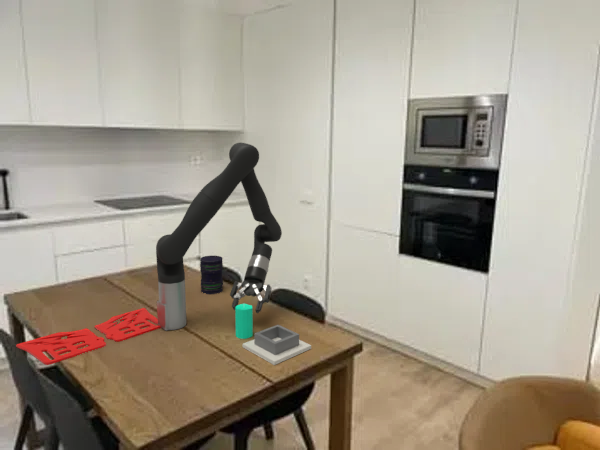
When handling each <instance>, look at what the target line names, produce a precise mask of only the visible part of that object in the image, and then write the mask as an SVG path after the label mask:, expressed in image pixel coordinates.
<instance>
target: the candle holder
mask: <svg viewBox="0 0 600 450" xmlns="http://www.w3.org/2000/svg"><path fill="white" fill-rule="evenodd" d="M253 336H254V337H253V338H254V339H251V340H248V341H247V342H243V343H242V346H241V347H242V348H243V349H245V350H247V351H249V352H250V353H252V354H254V355H256V356H258V357H259V358H261V359H262V360H265V361H266V362H268V363H269V364H271V365H272V366H276V365H278V364H280V363H282V362H285V361H287V360H289V359H291V358H293V357H295V356H298V355H300V354H302V353H304V352H307V351H310V350H312V345H311V344H309V343H307V342H305V341H303V340H301V339H300V334H299V333H297V332H296V331H293V330H291V329H289V328H286V327H284V326H282V325H280V324H276V325H273V326H271V327H267V328H265V329H263V330H260V331H257V332H254V333H253Z"/></svg>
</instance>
